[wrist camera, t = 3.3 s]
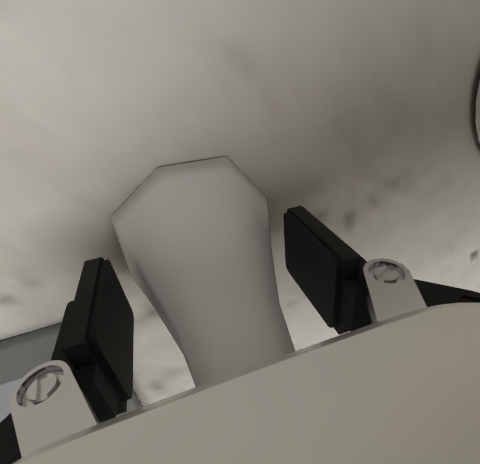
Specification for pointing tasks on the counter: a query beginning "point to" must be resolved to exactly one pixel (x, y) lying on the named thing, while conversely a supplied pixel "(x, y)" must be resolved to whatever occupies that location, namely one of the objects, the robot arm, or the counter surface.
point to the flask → (206, 265)
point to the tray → (30, 363)
